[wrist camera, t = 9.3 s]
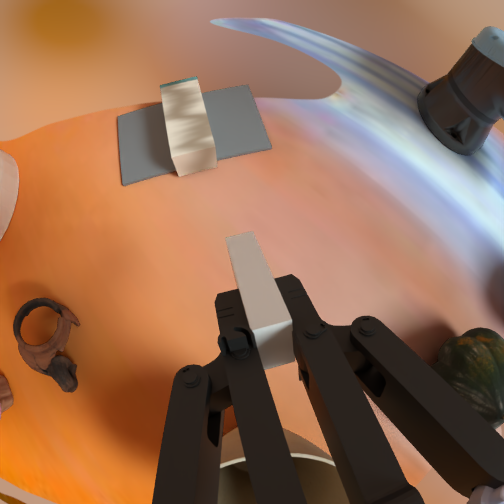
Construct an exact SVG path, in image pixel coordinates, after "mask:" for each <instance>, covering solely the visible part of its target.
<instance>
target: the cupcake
mask: <svg viewBox="0 0 504 504" xmlns="http://www.w3.org/2000/svg"><path fill="white" fill-rule="evenodd" d="M12 404H13V395H12V393H11V390H10V388H9V385H8V382H7V380H6V378H5V377H4V376H2V375H0V418H1V414H2V412H4V411H5V410H7V409H8V408H10V407H11V406H12Z"/></svg>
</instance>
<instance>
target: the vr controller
mask: <svg viewBox="0 0 504 504" xmlns="http://www.w3.org/2000/svg"><path fill="white" fill-rule="evenodd" d="M41 306H47V307H50V308H52V309H53V310H54V311H55V312H57V313H59V314H60V315H61V317H59V318H58V324H57V329H56V331H55V333H54V335H53V336H52V337H51V339H50V340H49V341H48V342H46V343H44V344H42V345H38V346H32V345H29V344H27V343H26V342H24V340H23V339H22V337H21V333H20V328H21V323H22V321H23V319H24V317H25V316H28V314H29V313H30V312H31V311H32V310H33V309H35V308H37V307H41ZM71 323H74V324H75V325H76V326H80V323H79V321H78V319H77V318H76V317H75V315H74V314H73V313H71V312H70V311H69V309H68V308H66V307H65V306H63V305H60V304H58V303H56V302H54V301H52V300H51V299H48V298H36V299H33V300H30V301H28V302H27V303H25V304H24V305H23V306H22V307H21V308H20V310H19V311H18V313H17V315H16V316H15V320H14V324H13V330H14V335H15V337H16V340H17V342H18V343H19V344H18V349H19V352H20V354H21V356H22V358H23V359H24V361H25V362H26V363H27V364H28V365H29V366H30V367H31V368H32V369H33V370H36V371H37V372H40V373H42V374H45V375H48V376H52V378H53V379H54V380H55V381H56V382H57V383H58V384H59V386H60V387H61V388H62V390H63V391H64V392H74V391H75V390H76V388H77V386H78V381H77V378H76V374H75V372H76V368H77V365H76V364H73V363H72V362H71V361H70V360H69V359H68V358H67V357H64V356H62V355H57V356H55V355H56V352H57V350H58V351H61V352H63V350H64V348H65V346H66V343H67V341H68V337H69V333H70V329H71Z"/></svg>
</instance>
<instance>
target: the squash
mask: <svg viewBox="0 0 504 504" xmlns="http://www.w3.org/2000/svg"><path fill="white" fill-rule="evenodd" d="M430 367H431V368H432V369H433V370H434V371H435V372H436V373H437V374H438V375H439V376H440V377H442V378H443V379H444V380H445V381H446V382H447V383H448V384H449V385H450V386H451V387H452V388H453V389H454V390H455V391H456V392H457V393H458V394H459V395H460V396H461V397H462V398H463V399H464V400H465V401H466V402H467V403H469V404H470V405H471V406H472V407H473V408H474V409H475V410H476V411H477V412H478V413H479V414H480V415H481V416H482V417H483V418H484V419H485V420H486V421H487V422H488V423H489V424H490V425H491V426H492V427H493V428H494V429H496V428H498V427H499V426H500V425H501V424H503V423H504V339H503V338H502V337H501V336H500V335H499V334H497V333H496V332H495V331H493V330H490V329H487V328H475V329H471V330H469V331H467V332H465V333H464V334H463V335H462V336H460V337H453V338H450V339H448V340H447V341H446V342H445V343H444V344H443V346H442V347H441V348H440V350H439V354H438V362H436V363H434V364H433V365H431V366H430Z"/></svg>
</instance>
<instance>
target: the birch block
mask: <svg viewBox="0 0 504 504" xmlns="http://www.w3.org/2000/svg"><path fill="white" fill-rule="evenodd" d="M160 90H161V96H162V103H163V110H164V116H165V123H166V129H167V135H168V141H169V146H170V152H171V158H172V160H173V163H174V165H175V168H176V171H177V173H178V176H179V177H180V176H184V175H188V174H192V173H196V172H200V171H204V170H208V169H212V168H216V167H218V166H217V157H216V148H215V143H214V140H213V136H212V132H211V128H210V124H209V121H208V117H207V113H206V109H205V105H204V102H203V98H202V94H201V90H200V86H199V82H198V79H197V77H192V78H188V79H183V80H179V81H175V82H171V83H168V84H163V85H160Z"/></svg>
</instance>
